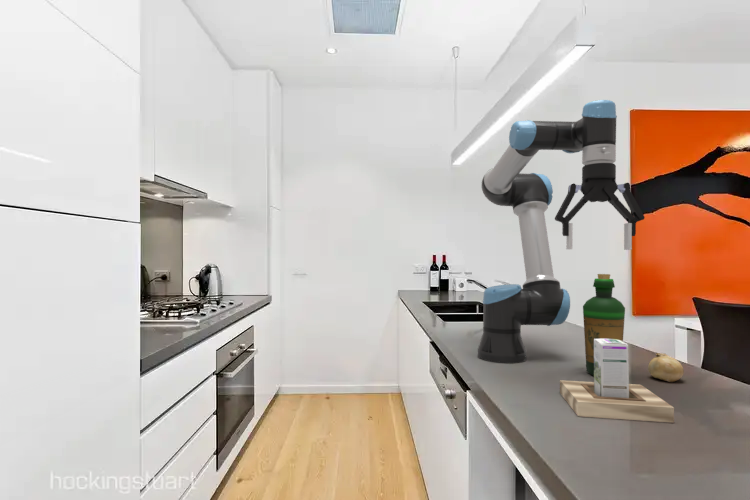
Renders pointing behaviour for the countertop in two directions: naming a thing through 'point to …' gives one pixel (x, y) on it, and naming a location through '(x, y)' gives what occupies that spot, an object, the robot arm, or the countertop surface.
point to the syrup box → (611, 368)
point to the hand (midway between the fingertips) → (598, 249)
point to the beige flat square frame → (616, 403)
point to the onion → (665, 368)
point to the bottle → (602, 317)
